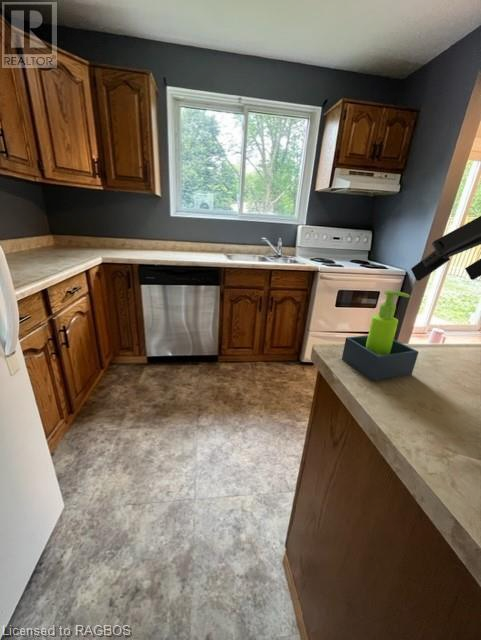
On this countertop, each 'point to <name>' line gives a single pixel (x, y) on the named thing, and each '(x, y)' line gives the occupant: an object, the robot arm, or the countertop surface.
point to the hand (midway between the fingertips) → (442, 274)
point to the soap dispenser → (384, 326)
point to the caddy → (379, 359)
